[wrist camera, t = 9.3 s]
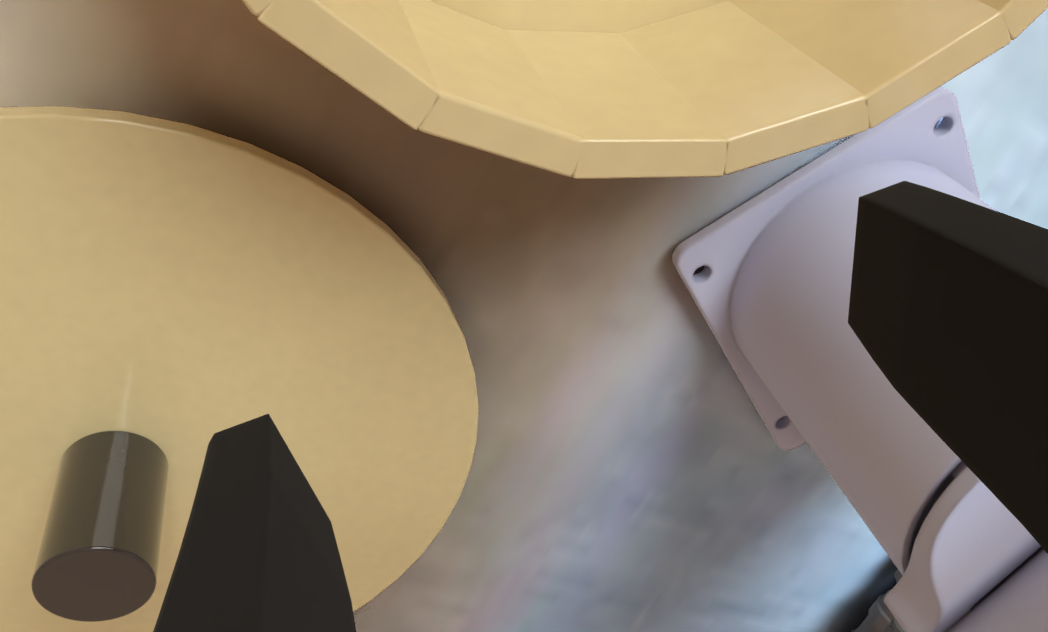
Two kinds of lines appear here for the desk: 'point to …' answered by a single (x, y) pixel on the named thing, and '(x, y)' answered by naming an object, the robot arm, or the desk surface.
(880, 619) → the tank toy
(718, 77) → the pot
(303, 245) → the pot lid
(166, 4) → the desk surface
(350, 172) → the desk surface
